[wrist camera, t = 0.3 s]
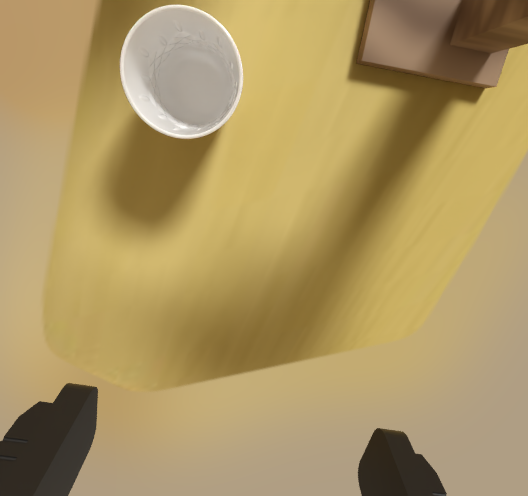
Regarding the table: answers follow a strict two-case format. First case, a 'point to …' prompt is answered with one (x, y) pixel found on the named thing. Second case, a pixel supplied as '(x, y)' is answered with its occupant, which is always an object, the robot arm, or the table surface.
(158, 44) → the white cup
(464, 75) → the wooden pedestal stand
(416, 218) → the table surface
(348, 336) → the table surface
